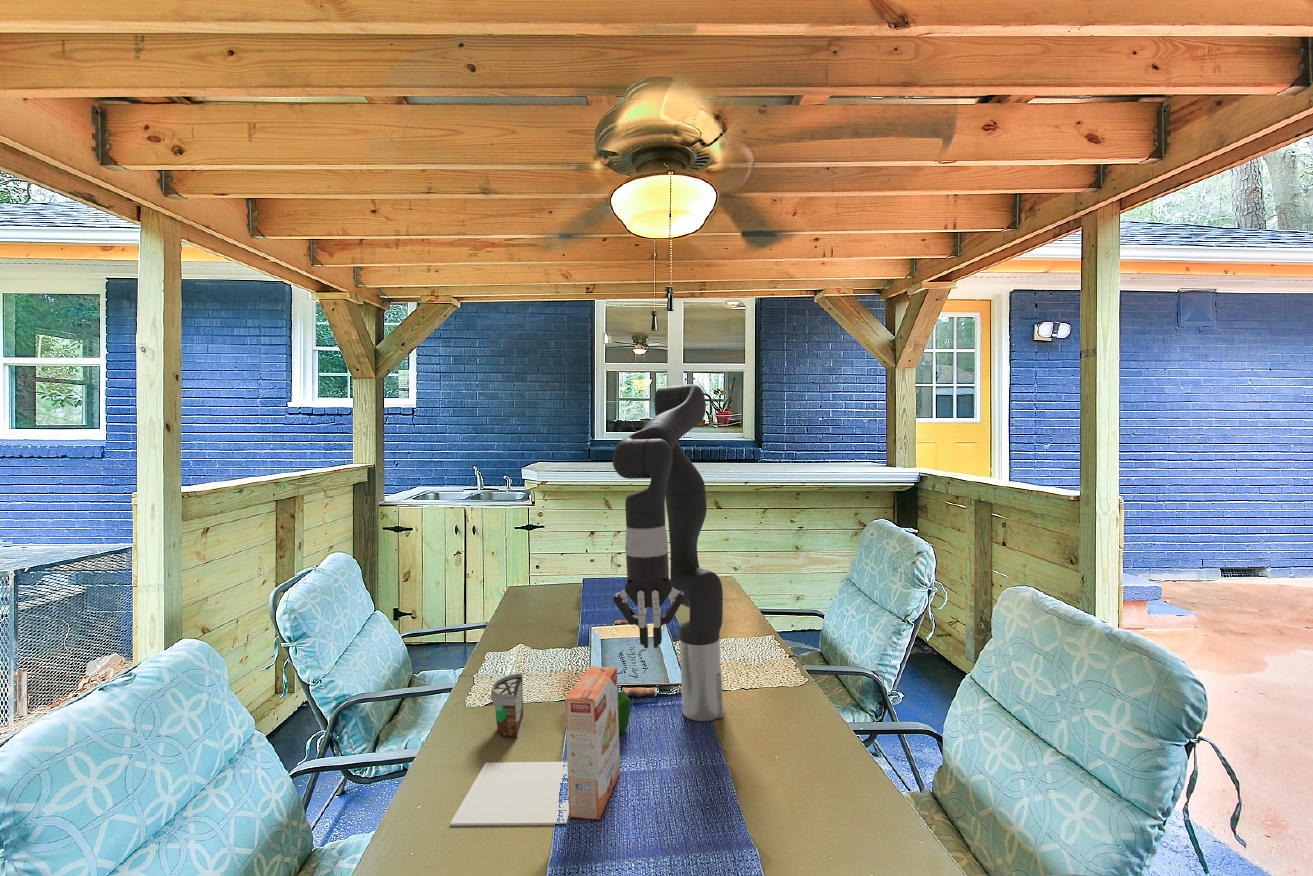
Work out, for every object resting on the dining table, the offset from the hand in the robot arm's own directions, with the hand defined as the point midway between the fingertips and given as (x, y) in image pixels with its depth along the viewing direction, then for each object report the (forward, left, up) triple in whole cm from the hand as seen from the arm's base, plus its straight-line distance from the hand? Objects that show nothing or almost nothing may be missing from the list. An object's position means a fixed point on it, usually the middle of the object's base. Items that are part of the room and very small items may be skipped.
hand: (651, 646), depth 107 cm
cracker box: (+11, 0, -27) cm, 29 cm away
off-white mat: (+25, -1, -27) cm, 37 cm away
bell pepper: (+11, -22, -27) cm, 37 cm away
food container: (+35, -24, -27) cm, 50 cm away
